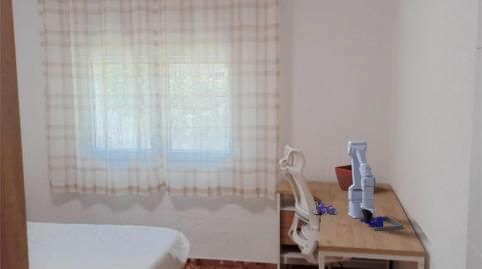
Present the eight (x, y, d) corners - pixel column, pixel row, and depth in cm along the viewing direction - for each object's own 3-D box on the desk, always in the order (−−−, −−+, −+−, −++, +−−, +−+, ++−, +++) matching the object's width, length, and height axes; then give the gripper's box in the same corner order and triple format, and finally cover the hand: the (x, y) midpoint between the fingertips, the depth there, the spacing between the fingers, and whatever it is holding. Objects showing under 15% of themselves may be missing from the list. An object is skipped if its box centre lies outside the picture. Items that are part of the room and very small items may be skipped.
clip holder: (359, 220, 228) (359, 217, 228) (386, 218, 231) (386, 215, 231) (374, 230, 212) (374, 226, 212) (402, 228, 215) (402, 224, 215)
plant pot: (352, 194, 290) (352, 170, 288) (334, 189, 306) (334, 167, 305) (371, 190, 299) (371, 167, 298) (352, 185, 316) (352, 164, 314)
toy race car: (337, 215, 241) (337, 204, 241) (311, 214, 243) (311, 204, 243) (335, 210, 251) (335, 200, 250) (311, 210, 253) (311, 200, 252)
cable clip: (363, 222, 227) (363, 211, 226) (370, 221, 228) (370, 211, 227) (375, 228, 215) (376, 217, 215) (383, 228, 216) (383, 217, 216)
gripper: (355, 195, 225) (354, 219, 227) (367, 202, 211) (367, 227, 213) (366, 194, 227) (366, 218, 228) (380, 201, 212) (379, 226, 214)
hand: (367, 222), depth 220 cm, fingers closed
